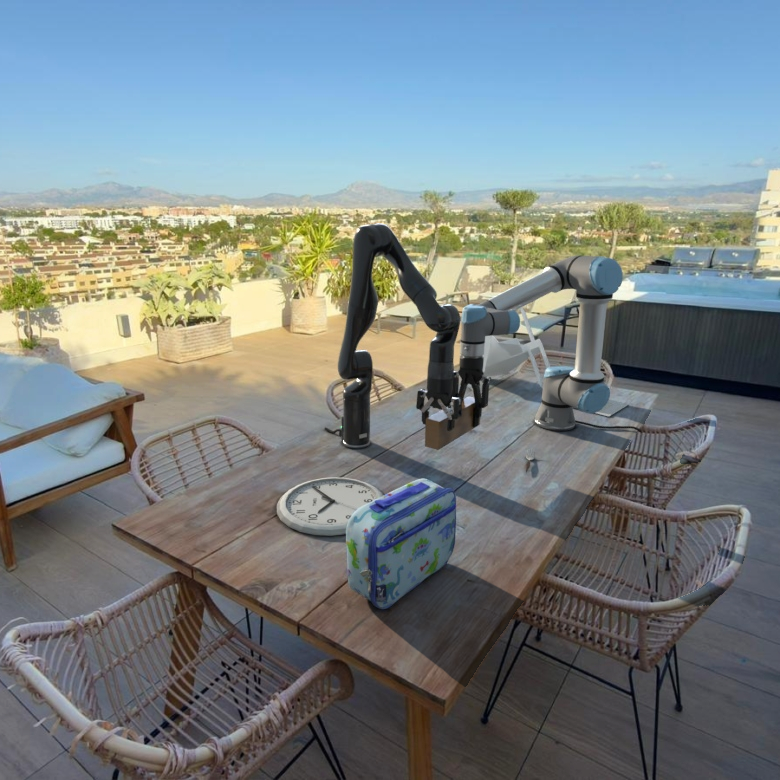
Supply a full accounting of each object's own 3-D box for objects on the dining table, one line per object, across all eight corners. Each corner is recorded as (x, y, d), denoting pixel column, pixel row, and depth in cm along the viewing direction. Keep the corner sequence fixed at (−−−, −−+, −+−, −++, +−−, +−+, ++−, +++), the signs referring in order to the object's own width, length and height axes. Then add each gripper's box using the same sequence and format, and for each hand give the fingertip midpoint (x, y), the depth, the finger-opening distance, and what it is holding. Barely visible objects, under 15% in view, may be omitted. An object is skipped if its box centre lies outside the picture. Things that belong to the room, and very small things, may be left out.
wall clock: (392, 527, 129) (268, 531, 127) (391, 533, 130) (269, 537, 127) (383, 473, 158) (282, 475, 155) (383, 478, 158) (282, 480, 156)
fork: (521, 473, 163) (522, 467, 162) (527, 453, 177) (527, 448, 177) (530, 474, 162) (530, 468, 162) (535, 454, 176) (535, 449, 176)
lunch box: (375, 622, 100) (376, 527, 94) (339, 595, 108) (338, 505, 101) (459, 565, 118) (465, 481, 112) (424, 545, 125) (427, 465, 119)
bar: (467, 421, 176) (468, 396, 173) (479, 424, 173) (481, 399, 171) (424, 446, 156) (425, 418, 154) (438, 450, 154) (439, 421, 151)
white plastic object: (490, 419, 265) (470, 397, 240) (471, 347, 287) (451, 319, 262) (561, 395, 253) (548, 369, 228) (536, 321, 275) (521, 290, 250)
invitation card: (608, 416, 214) (573, 407, 224) (608, 416, 214) (573, 408, 224) (628, 404, 229) (594, 396, 238) (628, 405, 229) (594, 397, 238)
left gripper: (412, 373, 152) (410, 425, 157) (455, 382, 144) (452, 436, 149) (426, 367, 158) (424, 418, 163) (468, 376, 150) (464, 429, 155)
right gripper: (441, 353, 167) (438, 421, 174) (492, 362, 157) (487, 434, 164) (453, 349, 173) (450, 415, 180) (503, 357, 162) (497, 427, 170)
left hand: (437, 427), depth 156 cm, fingers open, 8 cm apart
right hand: (468, 424), depth 172 cm, fingers closed on bar, 5 cm apart
